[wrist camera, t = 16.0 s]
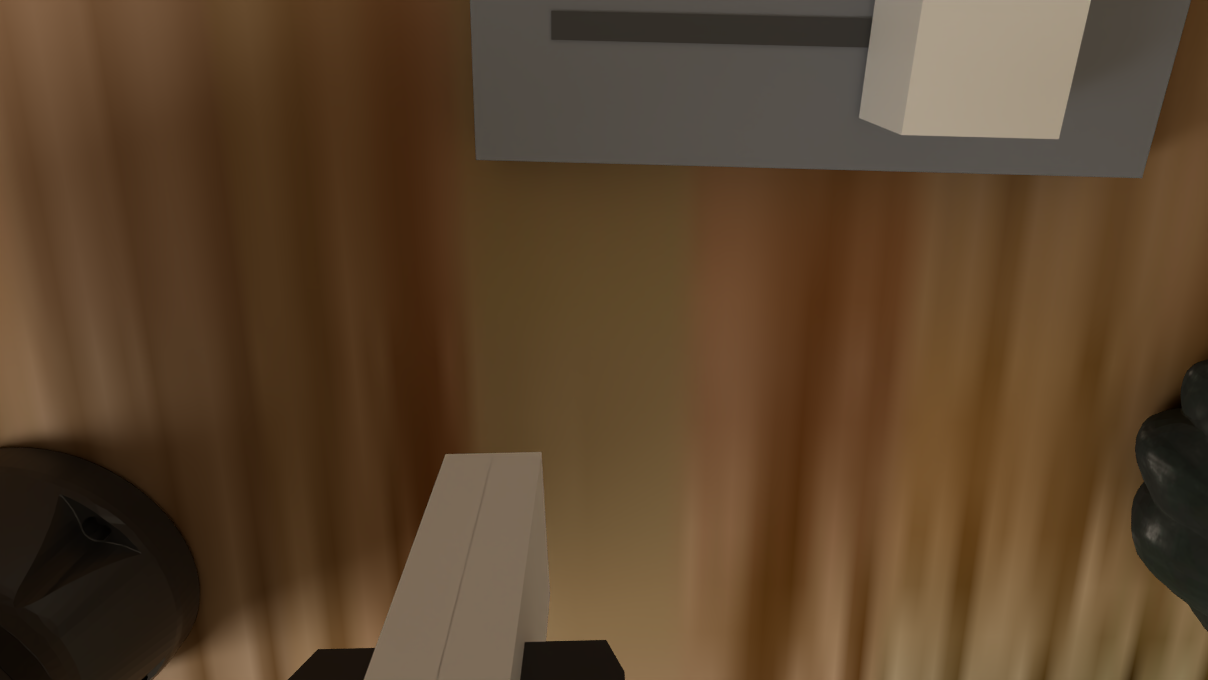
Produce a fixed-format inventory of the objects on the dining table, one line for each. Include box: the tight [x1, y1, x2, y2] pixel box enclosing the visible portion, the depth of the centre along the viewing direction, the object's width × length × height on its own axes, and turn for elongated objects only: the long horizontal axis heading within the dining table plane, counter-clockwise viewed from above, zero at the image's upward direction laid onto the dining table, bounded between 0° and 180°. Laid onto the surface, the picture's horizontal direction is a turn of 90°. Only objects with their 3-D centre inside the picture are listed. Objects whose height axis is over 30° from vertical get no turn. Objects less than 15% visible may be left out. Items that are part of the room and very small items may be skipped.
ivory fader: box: [859, 0, 1091, 139], centre depth 26 cm, size 5×6×5 cm
